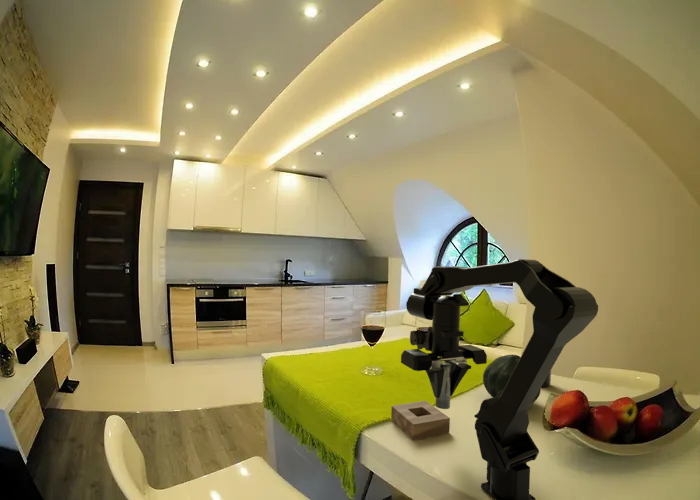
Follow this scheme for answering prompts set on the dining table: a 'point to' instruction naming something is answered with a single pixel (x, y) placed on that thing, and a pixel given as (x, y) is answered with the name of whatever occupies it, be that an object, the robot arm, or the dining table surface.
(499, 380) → the squash
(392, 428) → the dining table surface
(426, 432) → the hole block
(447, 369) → the pin
